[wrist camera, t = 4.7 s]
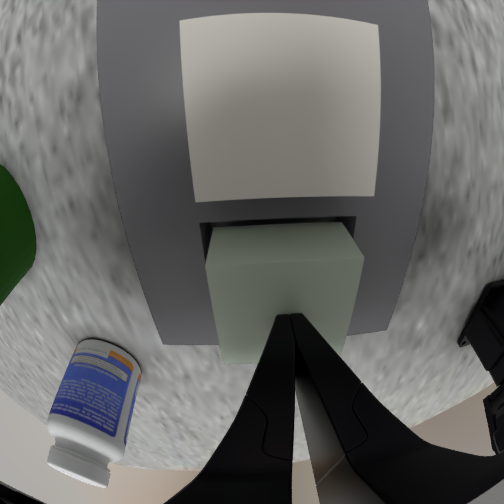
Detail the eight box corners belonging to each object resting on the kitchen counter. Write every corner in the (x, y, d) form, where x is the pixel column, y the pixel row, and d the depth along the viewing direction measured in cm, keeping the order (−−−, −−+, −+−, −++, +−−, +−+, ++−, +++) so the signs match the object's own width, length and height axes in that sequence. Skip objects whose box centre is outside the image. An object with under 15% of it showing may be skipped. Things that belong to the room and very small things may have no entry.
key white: (346, 39, 6) (377, 24, 4) (345, 171, 9) (373, 196, 7) (196, 39, 6) (179, 20, 4) (207, 175, 9) (195, 202, 7)
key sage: (341, 221, 10) (364, 257, 8) (328, 314, 12) (340, 355, 10) (213, 227, 10) (205, 265, 8) (226, 320, 12) (223, 363, 10)
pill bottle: (65, 336, 17) (18, 447, 8) (122, 336, 16) (80, 474, 8) (100, 379, 19) (71, 478, 11) (154, 382, 19) (133, 497, 11)
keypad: (378, -69, 4) (401, -89, 2) (370, 296, 15) (386, 330, 13) (131, -67, 4) (110, -90, 2) (172, 308, 15) (163, 344, 13)
